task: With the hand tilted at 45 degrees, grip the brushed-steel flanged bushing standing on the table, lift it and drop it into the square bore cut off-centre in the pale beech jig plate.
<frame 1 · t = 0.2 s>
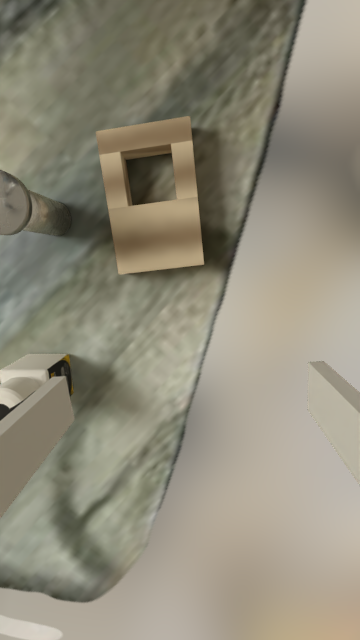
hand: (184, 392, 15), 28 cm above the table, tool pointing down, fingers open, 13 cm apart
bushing: (55, 218, 40), on the table
jig: (155, 204, 39), on the table
medicine bottle: (52, 372, 46), on the table
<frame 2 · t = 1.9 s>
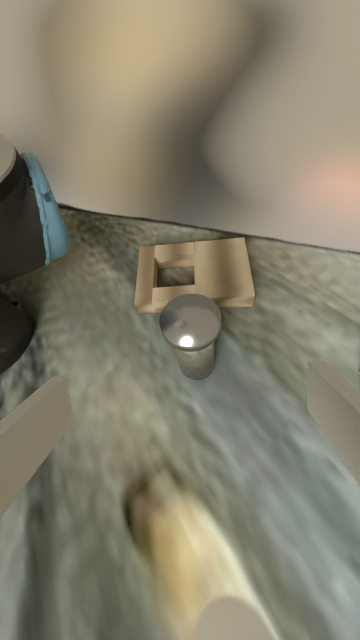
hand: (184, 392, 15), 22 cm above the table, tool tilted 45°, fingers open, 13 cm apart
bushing: (197, 363, 39), on the table
jig: (193, 280, 46), on the table
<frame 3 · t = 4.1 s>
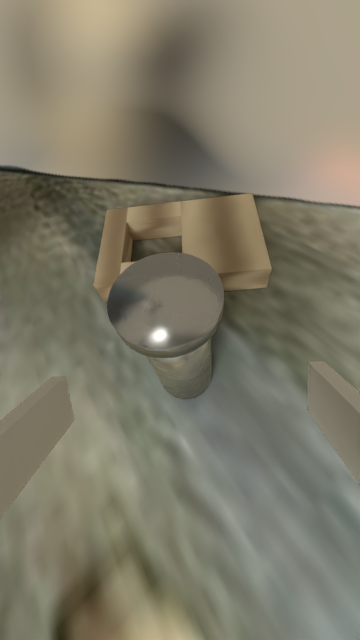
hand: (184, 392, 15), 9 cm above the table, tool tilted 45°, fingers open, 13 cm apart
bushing: (185, 373, 25), on the table
jig: (181, 254, 33), on the table
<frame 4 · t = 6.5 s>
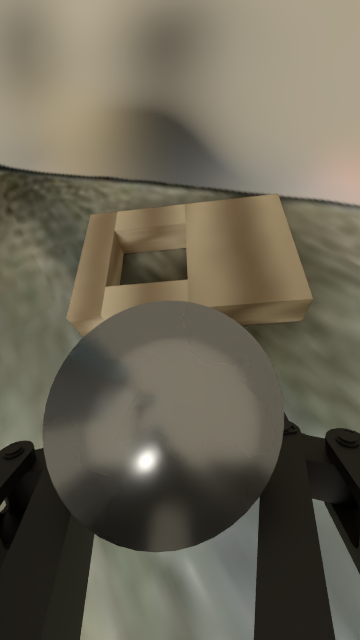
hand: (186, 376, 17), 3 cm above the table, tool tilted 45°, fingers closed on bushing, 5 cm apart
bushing: (192, 449, 18), on the table, touching gripper
jig: (186, 273, 26), on the table
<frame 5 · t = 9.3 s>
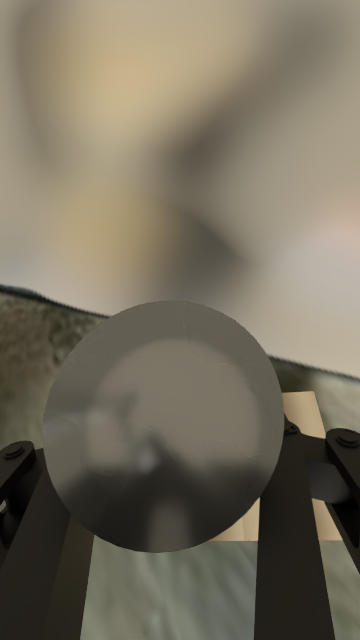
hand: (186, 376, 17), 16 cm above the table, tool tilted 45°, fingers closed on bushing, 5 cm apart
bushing: (192, 450, 18), point 13 cm above the table, touching gripper
jig: (230, 461, 28), on the table
when the fingers open (5 cm above the table, at t = 12.2 s): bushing drops 1 cm, resting in jig.
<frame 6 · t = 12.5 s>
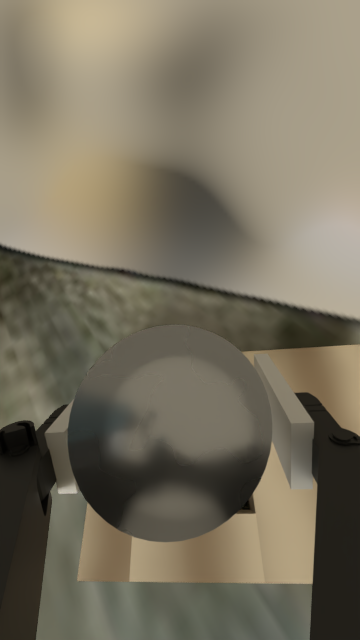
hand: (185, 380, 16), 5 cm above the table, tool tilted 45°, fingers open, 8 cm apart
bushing: (194, 453, 19), resting in jig
jig: (238, 451, 19), on the table
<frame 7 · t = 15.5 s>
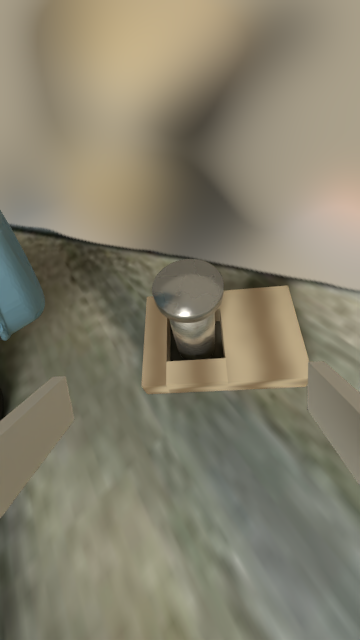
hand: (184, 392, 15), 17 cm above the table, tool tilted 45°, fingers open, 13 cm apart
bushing: (196, 345, 35), resting in jig
jig: (219, 343, 34), on the table
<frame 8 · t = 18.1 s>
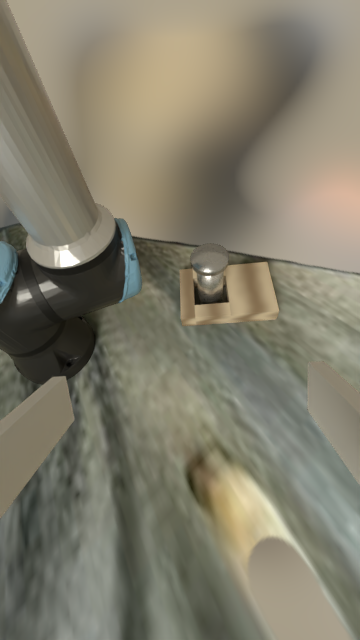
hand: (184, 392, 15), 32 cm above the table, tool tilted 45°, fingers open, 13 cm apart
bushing: (210, 299, 56), resting in jig
jig: (225, 297, 56), on the table
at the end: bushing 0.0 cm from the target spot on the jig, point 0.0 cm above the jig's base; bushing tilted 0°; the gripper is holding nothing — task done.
